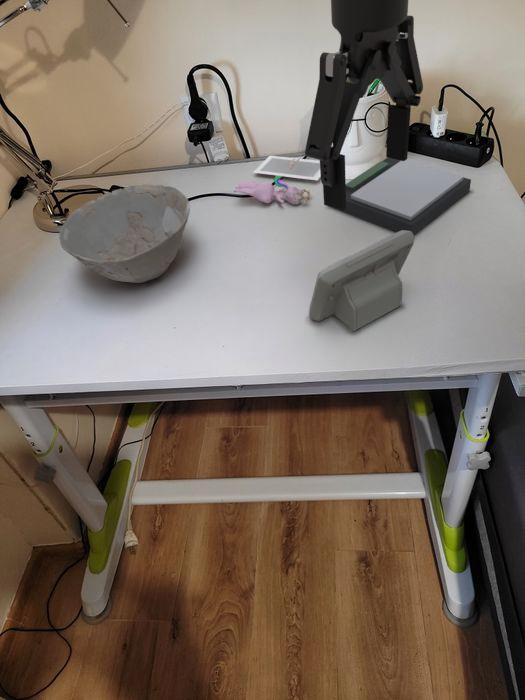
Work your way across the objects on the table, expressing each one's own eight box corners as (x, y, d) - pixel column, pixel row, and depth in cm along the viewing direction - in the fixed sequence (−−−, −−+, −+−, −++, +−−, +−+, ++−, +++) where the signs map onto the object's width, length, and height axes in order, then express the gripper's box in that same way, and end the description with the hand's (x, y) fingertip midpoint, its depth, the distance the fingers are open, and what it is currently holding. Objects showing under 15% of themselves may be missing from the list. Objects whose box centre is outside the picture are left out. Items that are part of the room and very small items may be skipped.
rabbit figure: (310, 199, 102) (238, 189, 104) (313, 171, 98) (237, 161, 100) (305, 216, 98) (230, 205, 100) (307, 188, 94) (229, 177, 96)
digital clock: (394, 273, 81) (397, 214, 73) (425, 306, 74) (432, 246, 67) (299, 305, 78) (293, 248, 71) (323, 342, 72) (319, 284, 65)
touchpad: (317, 185, 103) (317, 175, 102) (253, 177, 109) (252, 167, 108) (332, 167, 108) (332, 157, 106) (270, 160, 114) (269, 150, 112)
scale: (469, 191, 94) (472, 175, 91) (410, 238, 86) (412, 221, 84) (389, 167, 104) (389, 152, 102) (331, 206, 97) (330, 191, 94)
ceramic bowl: (91, 326, 82) (66, 277, 75) (75, 254, 98) (53, 208, 90) (220, 280, 86) (207, 230, 78) (184, 218, 101) (171, 171, 94)
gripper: (404, -54, 56) (395, 135, 72) (254, 13, 45) (280, 220, 60) (469, -55, 52) (444, 145, 68) (321, 18, 41) (331, 239, 56)
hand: (367, 181), depth 64 cm, fingers open, 13 cm apart
